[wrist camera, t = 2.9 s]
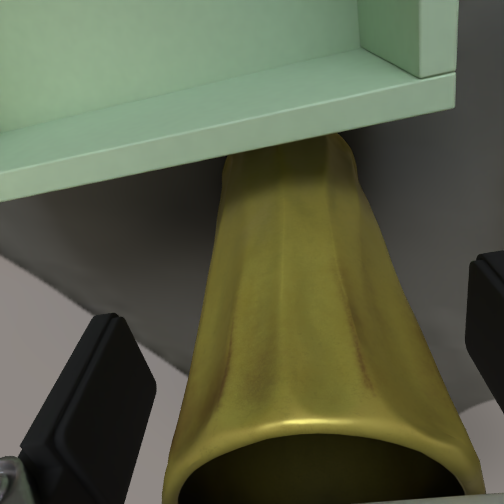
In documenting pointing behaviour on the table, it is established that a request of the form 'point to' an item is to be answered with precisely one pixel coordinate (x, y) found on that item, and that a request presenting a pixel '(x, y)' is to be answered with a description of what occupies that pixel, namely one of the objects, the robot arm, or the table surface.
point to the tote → (205, 79)
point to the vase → (310, 352)
